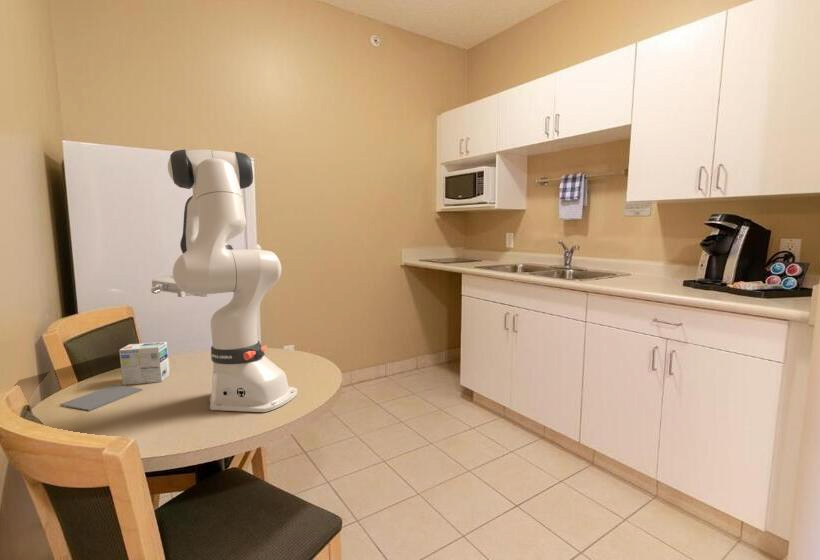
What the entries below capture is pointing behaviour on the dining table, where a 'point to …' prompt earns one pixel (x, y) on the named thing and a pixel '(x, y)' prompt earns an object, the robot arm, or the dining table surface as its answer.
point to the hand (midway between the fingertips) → (166, 293)
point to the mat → (101, 397)
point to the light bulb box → (144, 363)
